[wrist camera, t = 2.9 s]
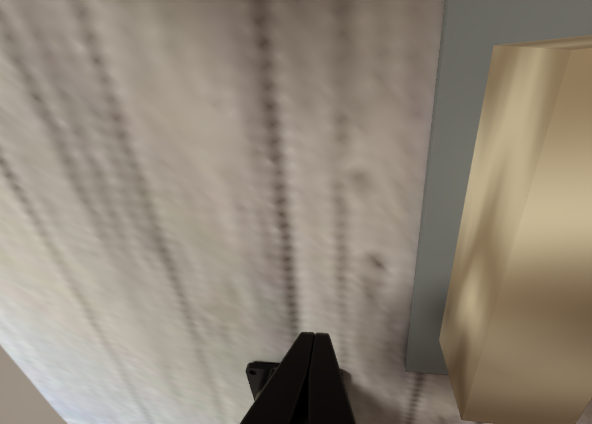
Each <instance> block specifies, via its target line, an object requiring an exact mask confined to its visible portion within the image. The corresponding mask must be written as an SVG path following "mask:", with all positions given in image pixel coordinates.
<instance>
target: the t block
mask: <svg viewBox="0 0 592 424" xmlns="http://www.w3.org/2000/svg"><path fill="white" fill-rule="evenodd" d="M439 342H440V345H441V349H442V352H443V356H444V359H445V363H446V366H447V370H448V374H449V377H450V381H451V384H452V388H453V391H454V395H455V398H456V402H457V405H458V409H459V413H460V416H461V420H466V421H475V422H484V423H493V424H576V422H577V420H578V419H579V417H580V416H581V414H582V413H583V411H584V410H585V408H586V406H587V405H588V403H589V402H590V400H591V399H592V35H585V36H576V37H566V38H557V39H548V40H538V41H529V42H519V43H510V44H501V45H494V46H493V51H492V57H491V62H490V68H489V73H488V78H487V84H486V89H485V94H484V100H483V105H482V111H481V116H480V121H479V127H478V132H477V138H476V143H475V148H474V154H473V159H472V165H471V170H470V175H469V181H468V186H467V192H466V197H465V202H464V208H463V213H462V219H461V224H460V229H459V235H458V240H457V246H456V251H455V256H454V262H453V267H452V273H451V278H450V283H449V289H448V294H447V299H446V305H445V310H444V316H443V321H442V326H441V332H440V337H439Z"/></svg>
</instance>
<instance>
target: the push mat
mask: <svg viewBox="0 0 592 424" xmlns="http://www.w3.org/2000/svg"><path fill="white" fill-rule="evenodd" d="M585 35H592V0H445V6H444V15H443V24H442V33H441V42H440V51H439V60H438V70H437V79H436V88H435V97H434V106H433V115H432V124H431V133H430V142H429V151H428V160H427V169H426V178H425V187H424V197H423V206H422V215H421V224H420V233H419V242H418V251H417V260H416V269H415V278H414V287H413V296H412V305H411V315H410V324H409V333H408V342H407V351H406V360H405V369H406V372H417V373H429V374H440V375H449V374H448V370H447V366H446V363H445V359H444V356H443V352H442V349H441V345H440V342H439V337H440V332H441V326H442V321H443V316H444V310H445V305H446V299H447V294H448V289H449V283H450V278H451V273H452V267H453V262H454V256H455V251H456V246H457V240H458V235H459V229H460V224H461V219H462V213H463V208H464V202H465V197H466V192H467V186H468V181H469V175H470V170H471V165H472V159H473V154H474V148H475V143H476V138H477V132H478V127H479V121H480V116H481V111H482V105H483V100H484V94H485V89H486V84H487V78H488V73H489V68H490V62H491V57H492V51H493V46H494V45H501V44H510V43H519V42H529V41H538V40H548V39H557V38H566V37H576V36H585Z"/></svg>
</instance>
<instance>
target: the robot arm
mask: <svg viewBox="0 0 592 424" xmlns="http://www.w3.org/2000/svg"><path fill="white" fill-rule="evenodd" d="M246 374H247V378H248V381H249V384H250V388H251V391H252V394H253V398H254V401H255V402H254V403H253V405H252V406H251V408H250V409H249V411H248V412H247V414H246V415H245V417H244V418H243V420H242V421H241V423H240V424H356V422H355V419H354V415H353V412H352V409H351V405H350V402H349V399H348V395H347V392H346V389H345V385H344V382H343V374H342V373H341V372H340V369H339V365H338V362H337V359H336V355H335V352H334V349H333V345H332V342H331V339H330V336H329V334H328V333H316V334H315V333H313V332H301V333H300V334H299V336H298V337H297V339H296V340H295V342H294V343H293V345H292V346H291V348H290V349H289V351H288V352H287V354H286V355H285V357H284V358H283V360H282V361H281V363H280V364H279V365H276V364H264V363H249V364H248V365H247V368H246Z"/></svg>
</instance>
